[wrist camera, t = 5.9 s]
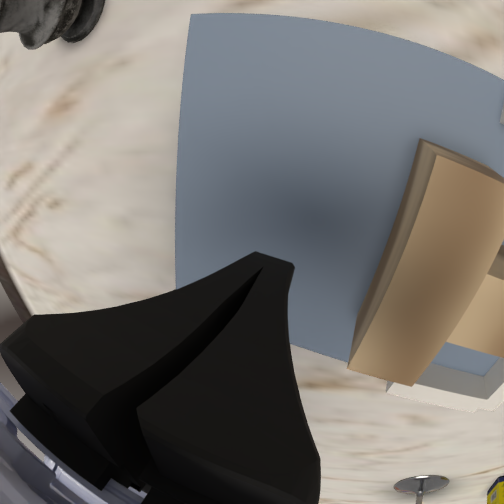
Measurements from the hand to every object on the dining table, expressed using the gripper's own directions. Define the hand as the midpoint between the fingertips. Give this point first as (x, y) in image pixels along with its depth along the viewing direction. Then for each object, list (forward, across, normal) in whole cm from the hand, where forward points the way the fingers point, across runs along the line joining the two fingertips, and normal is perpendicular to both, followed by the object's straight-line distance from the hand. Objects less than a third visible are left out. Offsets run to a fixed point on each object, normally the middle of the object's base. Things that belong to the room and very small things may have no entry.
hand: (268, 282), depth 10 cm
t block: (+6, -9, 0) cm, 11 cm away
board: (+7, -5, 0) cm, 8 cm away
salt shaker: (+7, +17, -11) cm, 22 cm away
